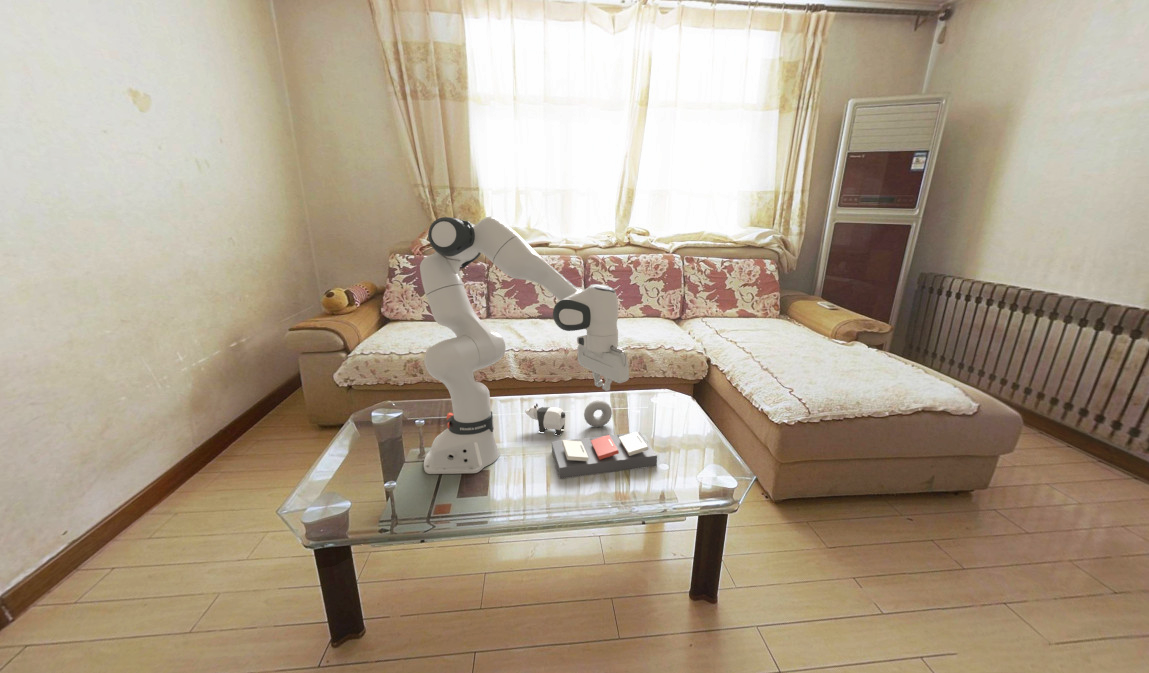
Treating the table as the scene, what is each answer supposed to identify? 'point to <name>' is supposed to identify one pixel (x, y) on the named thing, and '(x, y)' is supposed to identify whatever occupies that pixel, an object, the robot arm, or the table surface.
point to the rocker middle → (604, 447)
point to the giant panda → (548, 417)
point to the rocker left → (574, 450)
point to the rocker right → (633, 443)
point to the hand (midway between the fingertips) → (602, 388)
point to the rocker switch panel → (603, 465)
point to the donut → (603, 418)
